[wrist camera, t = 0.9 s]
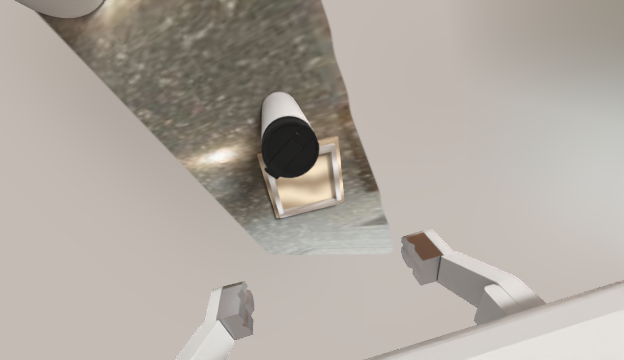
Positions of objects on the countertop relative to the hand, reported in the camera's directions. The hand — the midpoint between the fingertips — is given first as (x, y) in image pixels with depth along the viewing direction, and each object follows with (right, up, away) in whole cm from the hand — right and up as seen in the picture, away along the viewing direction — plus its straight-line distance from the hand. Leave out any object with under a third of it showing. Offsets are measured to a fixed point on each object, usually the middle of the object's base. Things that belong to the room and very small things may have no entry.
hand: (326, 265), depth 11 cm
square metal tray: (-2, +5, +37) cm, 37 cm away
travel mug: (-7, +17, +29) cm, 34 cm away
